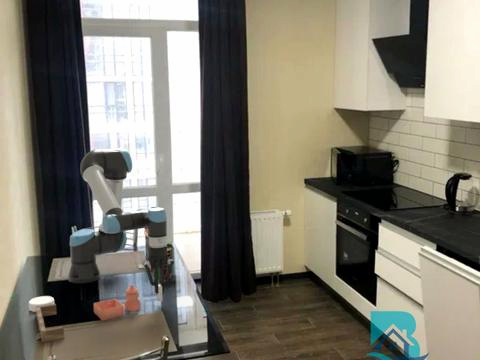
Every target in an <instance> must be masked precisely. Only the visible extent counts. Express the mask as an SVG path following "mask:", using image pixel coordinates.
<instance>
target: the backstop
mask: <svg viewBox="0 0 480 360" xmlns="http://www.w3.org/2000/svg"><path fill="white" fill-rule="evenodd" d="M35 314H36V319H37V325H38V330H39V335H40V338H41V343H46V342H52V341H56V340H63V339H65V333H64V332H65V330H64V329H65V328H64V326H63V325H62V326H57V327H51V328H47V329H46V325H45V321H44V317H48V316H49V317H50V316H55V315H57V304H56V303H54V304H50V305H44V306H37V307H36V312H35Z"/></svg>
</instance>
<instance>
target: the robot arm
mask: <svg viewBox="0 0 480 360" xmlns="http://www.w3.org/2000/svg"><path fill="white" fill-rule="evenodd" d="M132 160H133V159H132V157H131V154H130V152H129V151H128V150H127V149H125V148H118V147H116V148H105V149H93V150H91V151H90V150H89V151H88V153H86V154H85V156H83V158H82V160H81V162H80V166H79V167H80V169H79V170H80V175H81V177H82V179H83V180H84V181H85V182H86V183H88V186H89V188H90V190H91V192H92V194H93V196H94V198H95V200H96V201H97V203H98V206H99V208H100V211H101V212H102V220H101V224H99V226H98V231H95V229H92V228H91V229H90V228H88V229H85V228H84V229H80V230H77V231H75V232H73V233H72V234H71V235H70V237H69V247H70V249H69V250H70V251H69V252H70V267H69V271H68V274H67V280H68V282H69V283H73V284H89V283H93V282H96V281H99V280H100V279H101V276H102V275H101V270H100V268H99V265H98V263H97V256H102V255H108V254H112V253H113V254H115V253H118V252H121V251H123V250H124V249H125V247H126V245H127V241H128V240H127V239H128V238H127V231H134V230H141V229H144V228H147V229H148V237H149V259H148V261H147V262H146V263H145V262H143V263H142V266H143V267H144V268H145V271H146V274H147V279H148V281H149V284H150V285H151V286H152V287H154V293H155V295H156V299H157V301H158V302H160V303H161V302H163V293H165V286H166V284H169V282H170V279H171V278H170V273H171V268H172V265H173V266H174V263H175V261H174V260H172V259H169V257H168V255H167V246H166V245H167V243H168V238H167V237H168V235H167V234H168V233H167V228H168V227H167V226H168V225H167V211H166V209H165V208H163V207H158V208H151V207H150V208H149V209H147V208H138V209H137V210H136V211H128V212H124V211H123V209H122V200H123V187H124V180H126V179H127V175H128V174H130V172H131V171H132V170H133V161H132ZM167 261H168V262H167ZM166 263H168V264H167V269H166V274H165V279H164V266H165V264H166ZM149 264H151V265H152V266H153V269H154V271H153V276H152V272H151V271H150V268H149V267H150V265H149ZM158 268H160V280H158ZM169 278H170V279H169Z"/></svg>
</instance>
